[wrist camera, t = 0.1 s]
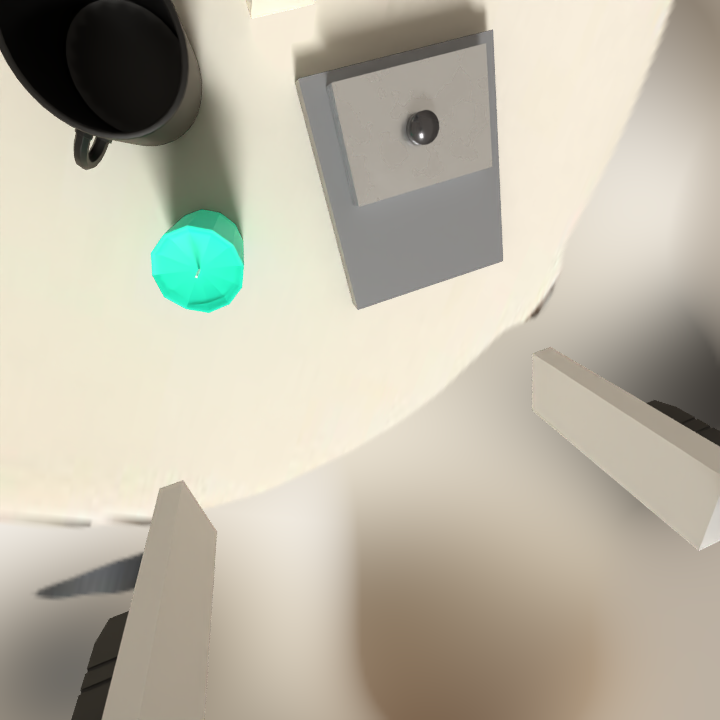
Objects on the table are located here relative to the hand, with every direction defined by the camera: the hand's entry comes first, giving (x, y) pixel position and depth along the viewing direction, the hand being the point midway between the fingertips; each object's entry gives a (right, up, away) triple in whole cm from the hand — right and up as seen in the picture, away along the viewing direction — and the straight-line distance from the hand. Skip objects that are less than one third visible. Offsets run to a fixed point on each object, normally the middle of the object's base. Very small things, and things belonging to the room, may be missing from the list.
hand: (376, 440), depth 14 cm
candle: (-14, +14, +21) cm, 29 cm away
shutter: (+4, +23, +20) cm, 30 cm away
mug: (-18, +23, +15) cm, 33 cm away
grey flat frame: (+4, +20, +24) cm, 31 cm away
